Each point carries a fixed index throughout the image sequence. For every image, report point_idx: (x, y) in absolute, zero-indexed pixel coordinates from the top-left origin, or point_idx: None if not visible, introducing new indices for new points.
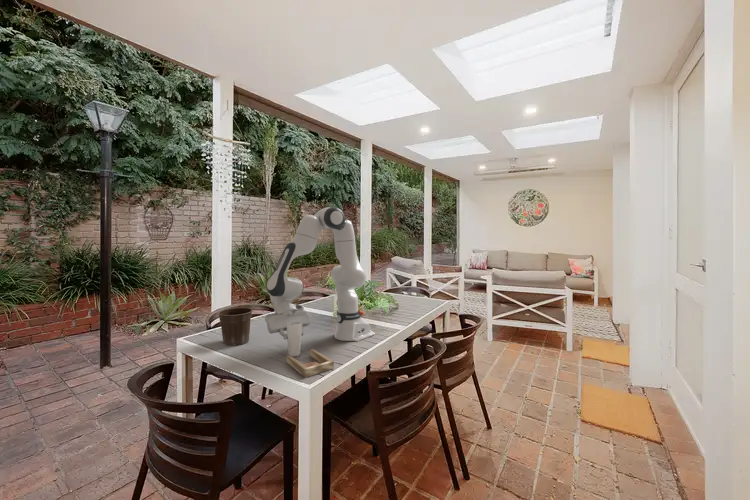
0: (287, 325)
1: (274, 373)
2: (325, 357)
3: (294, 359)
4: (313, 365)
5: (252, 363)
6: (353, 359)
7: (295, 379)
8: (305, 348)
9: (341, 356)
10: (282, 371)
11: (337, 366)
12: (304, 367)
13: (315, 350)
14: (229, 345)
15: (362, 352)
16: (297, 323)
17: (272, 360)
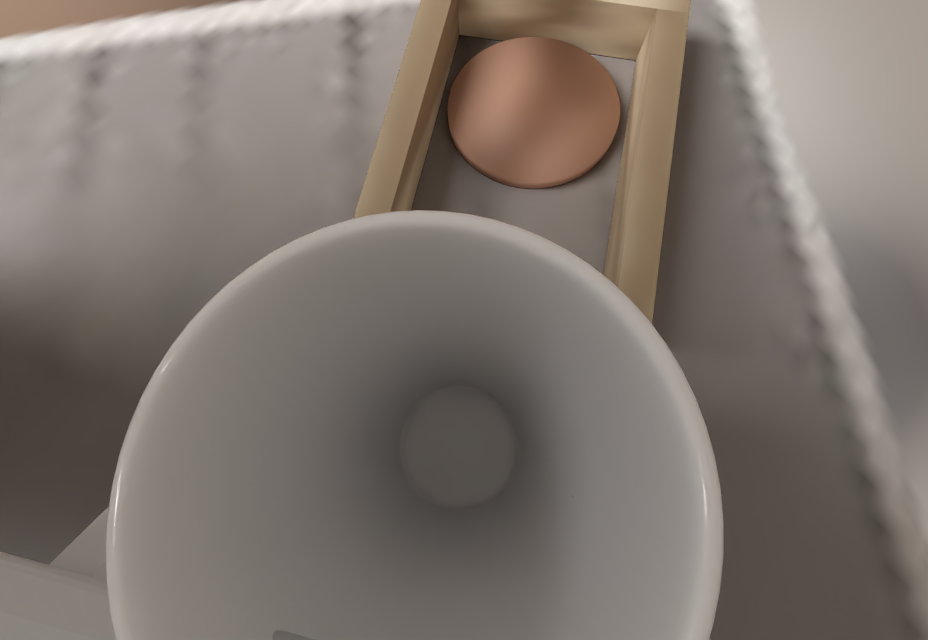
0: (707, 539)
1: (815, 244)
2: (419, 45)
3: (643, 198)
4: (519, 113)
5: (902, 609)
6: (234, 17)
7: (737, 64)
8: None
9: (235, 109)
10: (745, 227)
11: (398, 16)
12: (675, 20)
13: None
14: None
15: (81, 52)
16: (194, 575)
17: None
